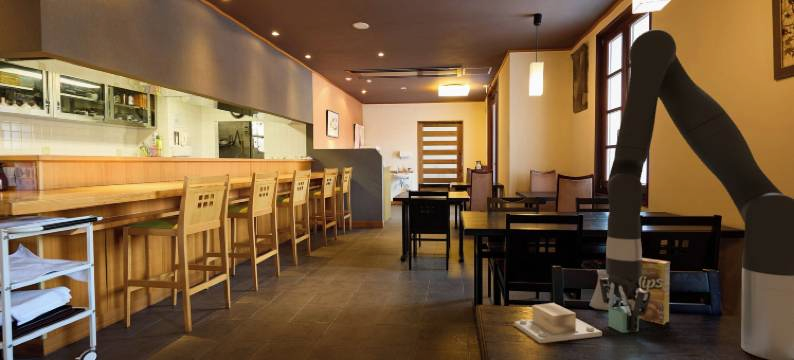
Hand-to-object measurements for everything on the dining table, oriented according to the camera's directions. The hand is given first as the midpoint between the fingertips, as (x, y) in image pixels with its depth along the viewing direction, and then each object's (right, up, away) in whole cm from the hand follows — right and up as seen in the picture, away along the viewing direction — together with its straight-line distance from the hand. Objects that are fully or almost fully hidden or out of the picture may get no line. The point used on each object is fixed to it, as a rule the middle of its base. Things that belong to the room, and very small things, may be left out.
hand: (623, 326), depth 102 cm
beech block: (-17, +1, -1) cm, 17 cm away
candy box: (+10, -1, +7) cm, 12 cm away
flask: (+3, 0, +16) cm, 17 cm away
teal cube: (0, 0, 0) cm, 0 cm away
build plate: (-16, -1, -1) cm, 16 cm away
